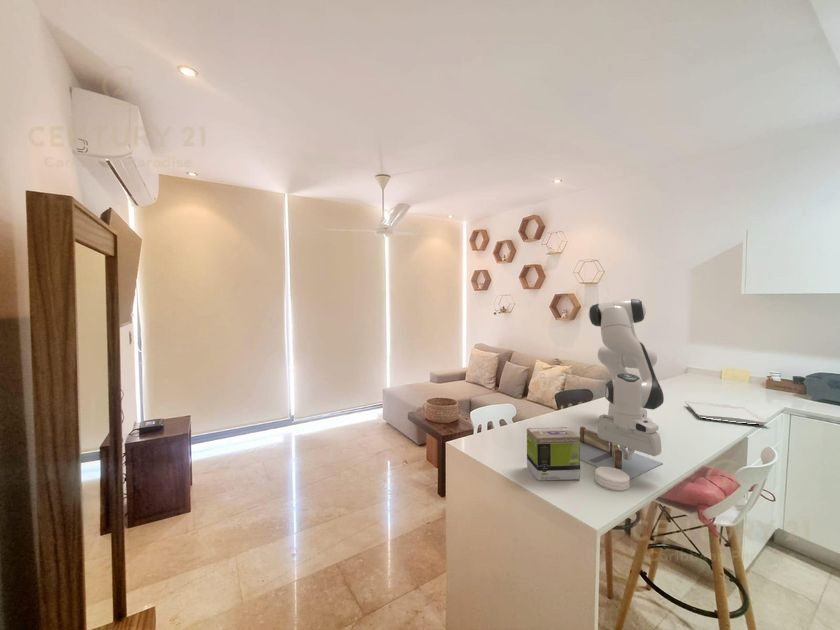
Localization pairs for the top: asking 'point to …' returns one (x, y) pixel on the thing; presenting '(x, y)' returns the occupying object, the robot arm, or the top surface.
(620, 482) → the coaster
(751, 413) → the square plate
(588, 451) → the card
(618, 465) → the panel
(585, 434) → the fence fixed panel
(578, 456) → the tea box
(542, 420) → the top surface
